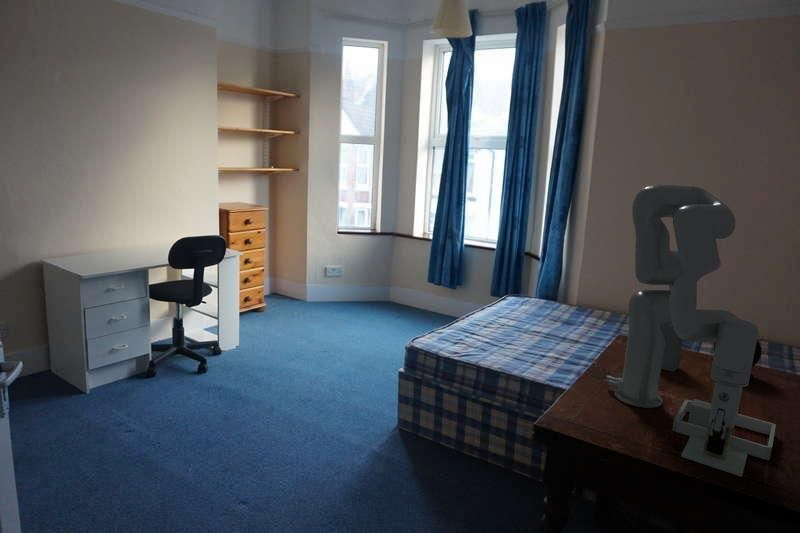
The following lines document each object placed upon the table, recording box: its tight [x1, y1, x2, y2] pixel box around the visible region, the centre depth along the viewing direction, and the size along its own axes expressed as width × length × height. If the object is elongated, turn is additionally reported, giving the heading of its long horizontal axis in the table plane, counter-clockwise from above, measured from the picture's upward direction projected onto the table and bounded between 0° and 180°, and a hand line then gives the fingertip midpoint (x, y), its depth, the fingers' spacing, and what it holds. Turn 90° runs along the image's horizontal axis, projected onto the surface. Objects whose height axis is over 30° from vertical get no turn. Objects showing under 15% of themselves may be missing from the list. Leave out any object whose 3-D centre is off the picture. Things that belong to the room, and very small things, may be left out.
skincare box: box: [660, 325, 684, 373], centre depth 179 cm, size 8×7×16 cm
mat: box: [680, 435, 749, 477], centre depth 127 cm, size 12×12×1 cm
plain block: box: [687, 398, 711, 428], centre depth 141 cm, size 4×4×6 cm
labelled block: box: [703, 423, 733, 461], centre depth 126 cm, size 4×4×6 cm
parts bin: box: [671, 398, 777, 462], centre depth 138 cm, size 21×16×3 cm
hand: (716, 446), depth 127 cm, fingers open, 5 cm apart
